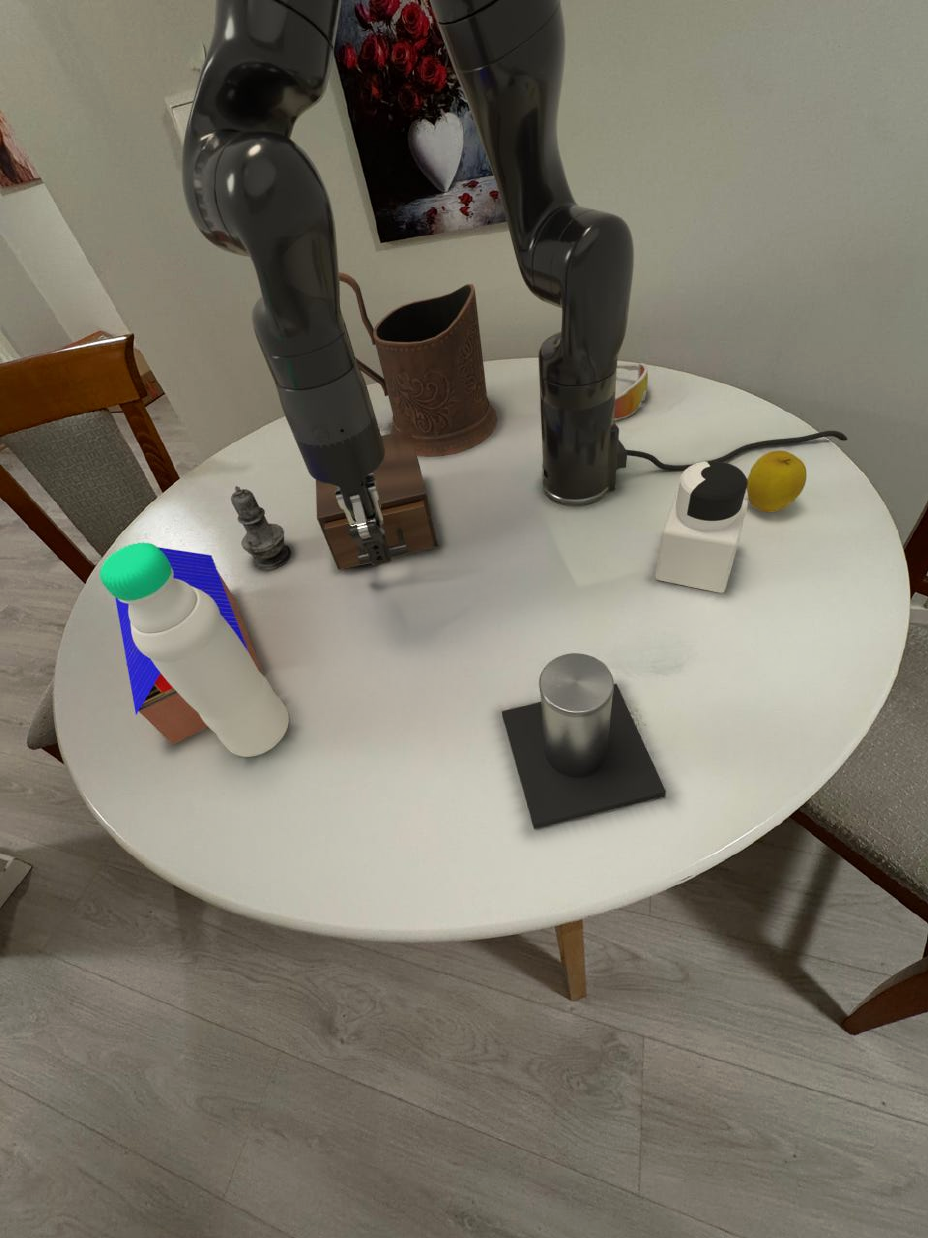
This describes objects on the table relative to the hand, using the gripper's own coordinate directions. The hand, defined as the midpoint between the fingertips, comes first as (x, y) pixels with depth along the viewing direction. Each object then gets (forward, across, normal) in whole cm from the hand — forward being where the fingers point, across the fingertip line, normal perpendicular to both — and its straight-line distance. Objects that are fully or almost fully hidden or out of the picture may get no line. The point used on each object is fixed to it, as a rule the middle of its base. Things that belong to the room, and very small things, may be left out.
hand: (381, 559), depth 65 cm
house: (+8, -1, +24) cm, 25 cm away
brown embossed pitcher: (+9, +41, -10) cm, 43 cm away
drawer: (+8, +14, 0) cm, 16 cm away
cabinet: (+9, +18, 0) cm, 20 cm away
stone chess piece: (+9, +16, +16) cm, 24 cm away
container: (+9, -4, -36) cm, 37 cm away
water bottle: (+9, -12, +17) cm, 23 cm away
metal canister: (+8, -24, -14) cm, 29 cm away
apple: (+10, +3, -49) cm, 50 cm away
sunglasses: (+10, +37, -39) cm, 54 cm away
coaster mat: (+9, -24, -14) cm, 29 cm away
